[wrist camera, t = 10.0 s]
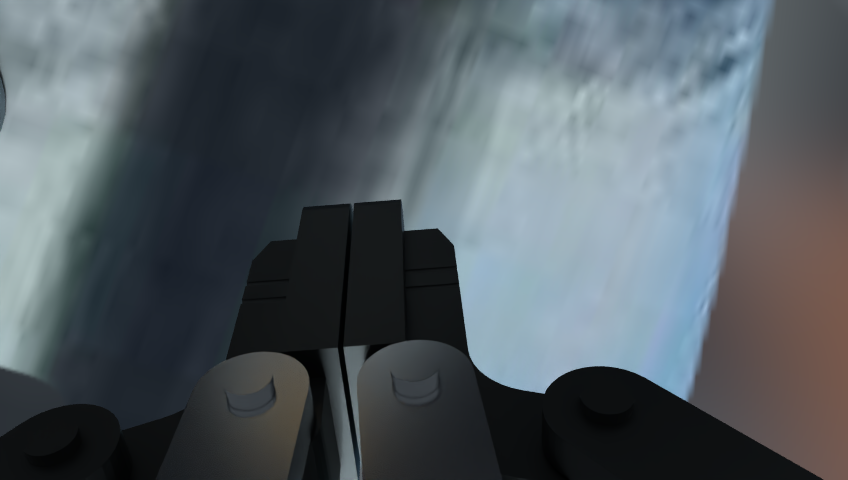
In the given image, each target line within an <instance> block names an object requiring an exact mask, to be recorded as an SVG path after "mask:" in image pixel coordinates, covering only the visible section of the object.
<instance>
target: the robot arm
mask: <svg viewBox="0 0 848 480" xmlns="http://www.w3.org/2000/svg"><path fill="white" fill-rule="evenodd" d="M4 117H5V93H4V89H3V84H2V80H1V78H0V131H1V129H2V125H3V121H4ZM360 462H361V469H362V477H363V480H823V479H822V478H820V477H818V476H816V475H815V474H813V473H811V472H809V471H807V470H806V469H804V468H802V467H800V466H799V465H797V464H795V463H793V462H792V461H790V460H788V459H786V458H785V457H783V456H781V455H779V454H778V453H776V452H774V451H772V450H771V449H769V448H767V447H765V446H764V445H762V444H760V443H758V442H757V441H755V440H753V439H751V438H749V437H748V436H746V435H744V434H743V433H740V432H739V431H737V430H736V429H734V428H732V427H730V426H729V425H727V424H725V423H723V422H722V421H720V420H718V419H716V418H714V417H713V416H711V415H709V414H707V413H706V412H704V411H702V410H700V409H699V408H697V407H695V406H693V405H692V404H690V403H688V402H686V401H685V400H683V399H681V398H679V397H678V396H676V395H674V394H672V393H671V392H669V391H667V390H665V389H664V388H662V387H660V386H658V385H657V384H655V383H653V382H651V381H650V380H648V379H646V378H644V377H642V376H640V375H638V374H636V373H633V372H630V371H627V370H624V369H619V368H614V367H605V366H594V367H585V368H580V369H576V370H573V371H570V372H568V373H565V374H564V375H562V376H560V377H558V378H557V379H556V380H555V381H554V382H552V383H551V385H550V386H549V387H548V388H547V390H546V392H545V394H542V393H536V392H530V391H523V390H519V389H514V388H510V387H507V386H504V385H501V384H499V383H497V382H495V381H493V380H491V379H490V378H488V377H487V376H485V375H484V374H483V373H482V372H480V371H479V370H478V369H477V367H476V366H475V365H474V364H473V362H472V360H471V358H470V356H469V352H468V346H467V339H466V331H465V324H464V317H463V309H462V302H461V294H460V287H459V280H458V272H457V265H456V258H455V250H454V245H453V244H452V243H451V242H450V241H449V240H448V239H447V238H446V237H445V236H444V235H443V234H442V232H441V231H440V230H439V229H438V228H437V229H424V230H411V231H404V220H403V210H402V201H401V200H389V201H376V202H363V203H354V211H353V209H352V205H351V204H339V205H325V206H312V207H304V208H303V210H302V215H301V220H300V226H299V231H298V236H297V239H296V240H283V241H271V242H270V243H269V244H268V245H267V246H266V247H265V248H264V249H263V250H262V251H261V253H260V254H259V255H258V256H257V257H256V258H255V259H254V260H253V261H252V265H251V268H250V272H249V276H248V280H247V286H246V287H245V291H244V294H243V298H242V304H241V306H240V309H239V313H238V317H237V321H236V324H235V328H234V332H233V335H232V339H231V343H230V347H229V350H228V354H227V358H226V361H224V362H222V363H220V364H218V365H216V366H215V367H213V368H212V369H210V370H209V371H208V372H207V373H206V374H204V375H203V376H202V377H201V379H200V380H199V381H198V382H197V384H196V385H195V387H194V389H193V391H192V393H191V396H190V398H189V400H188V403H187V405H186V408H185V409H184V410H182V411H180V412H177V413H175V414H173V415H170V416H167V417H164V418H162V419H158V420H155V421H152V422H148V423H145V424H142V425H139V426H135V427H132V428H129V429H126V430H121V427H120V425H119V422H118V420H117V418H116V417H115V415H114V414H113V413H111V412H110V411H109V410H107V409H105V408H103V407H100V406H96V405H89V404H73V405H67V406H62V407H58V408H54V409H51V410H48V411H45V412H43V413H40V414H38V415H36V416H34V417H32V418H30V419H28V420H27V421H25V422H23V423H21V424H20V425H18V426H17V427H15V428H14V429H12V430H11V431H9V432H7V433H6V434H5V435H3V436H1V437H0V480H359V476H360Z"/></svg>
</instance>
